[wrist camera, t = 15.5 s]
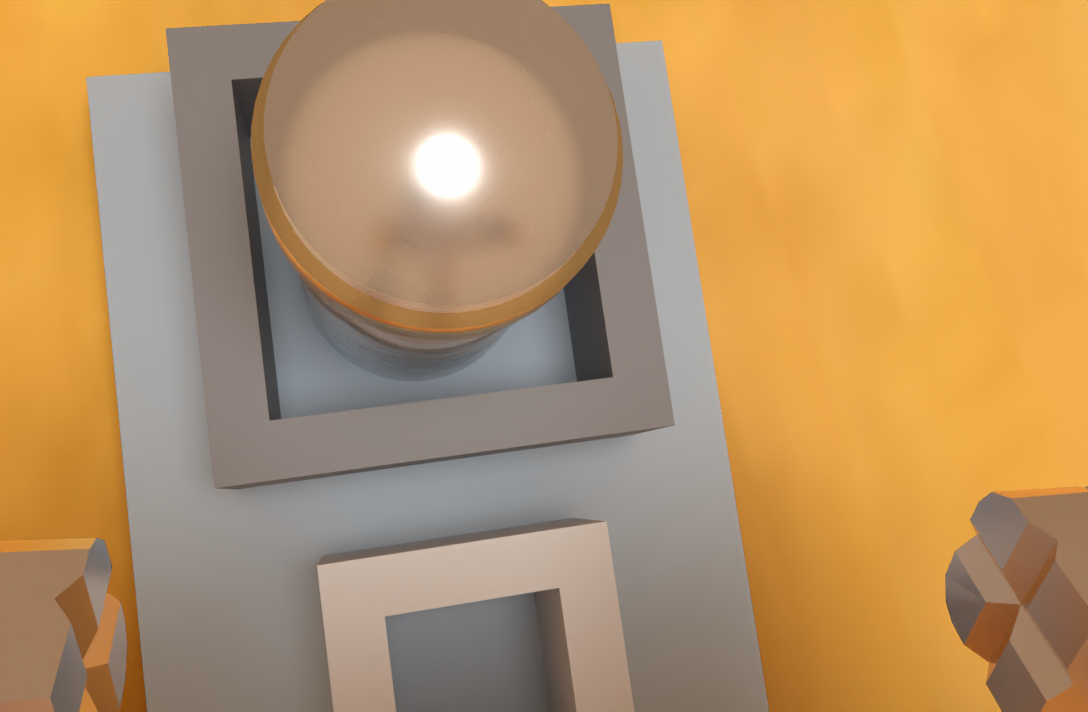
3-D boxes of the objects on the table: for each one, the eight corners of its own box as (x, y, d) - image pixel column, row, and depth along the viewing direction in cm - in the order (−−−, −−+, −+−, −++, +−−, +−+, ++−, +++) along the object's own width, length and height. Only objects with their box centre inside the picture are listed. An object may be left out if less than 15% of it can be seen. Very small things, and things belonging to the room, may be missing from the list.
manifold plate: (754, 768, 23) (849, 835, 18) (181, 886, 20) (130, 993, 16) (644, 68, 24) (705, -27, 20) (104, 105, 22) (40, 7, 18)
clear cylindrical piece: (507, 411, 21) (600, 356, 13) (270, 366, 20) (207, 277, 12) (546, 188, 22) (658, 1, 14) (319, 138, 21) (291, -92, 13)
